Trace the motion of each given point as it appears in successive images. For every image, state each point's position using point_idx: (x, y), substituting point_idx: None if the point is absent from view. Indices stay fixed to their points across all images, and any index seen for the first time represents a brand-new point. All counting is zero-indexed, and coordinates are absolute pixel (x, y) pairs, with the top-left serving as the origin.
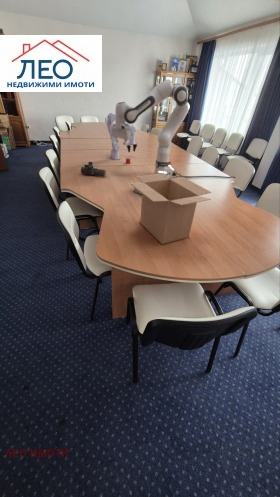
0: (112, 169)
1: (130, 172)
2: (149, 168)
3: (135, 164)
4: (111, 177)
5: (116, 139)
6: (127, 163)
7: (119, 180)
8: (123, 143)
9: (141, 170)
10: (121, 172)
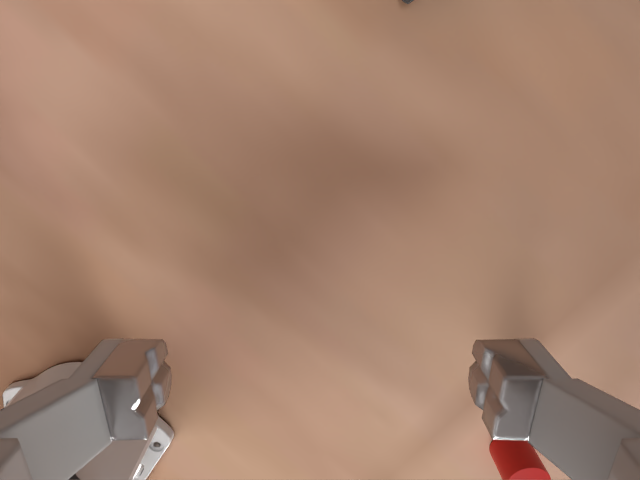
0: (498, 225)
1: (315, 296)
2: (290, 476)
3: (441, 468)
4: (323, 30)
5: (566, 430)
6: None
7: (197, 34)
8: (137, 354)
9: (294, 401)
10: (371, 231)
